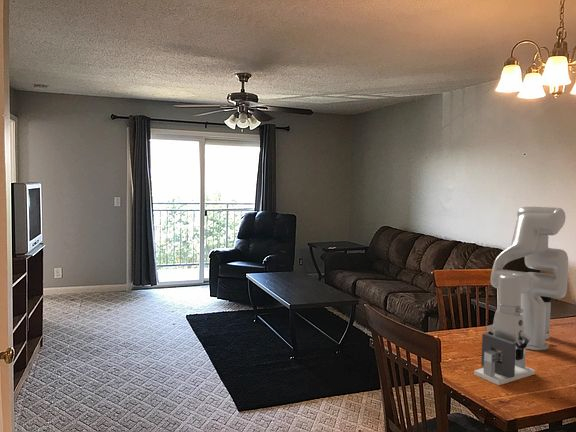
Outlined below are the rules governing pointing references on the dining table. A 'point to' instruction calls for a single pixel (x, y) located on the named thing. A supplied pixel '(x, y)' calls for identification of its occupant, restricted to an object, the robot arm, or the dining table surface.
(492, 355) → the grey square bar
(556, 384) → the dining table surface
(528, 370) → the stand
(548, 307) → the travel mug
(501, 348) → the collar
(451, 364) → the dining table surface
